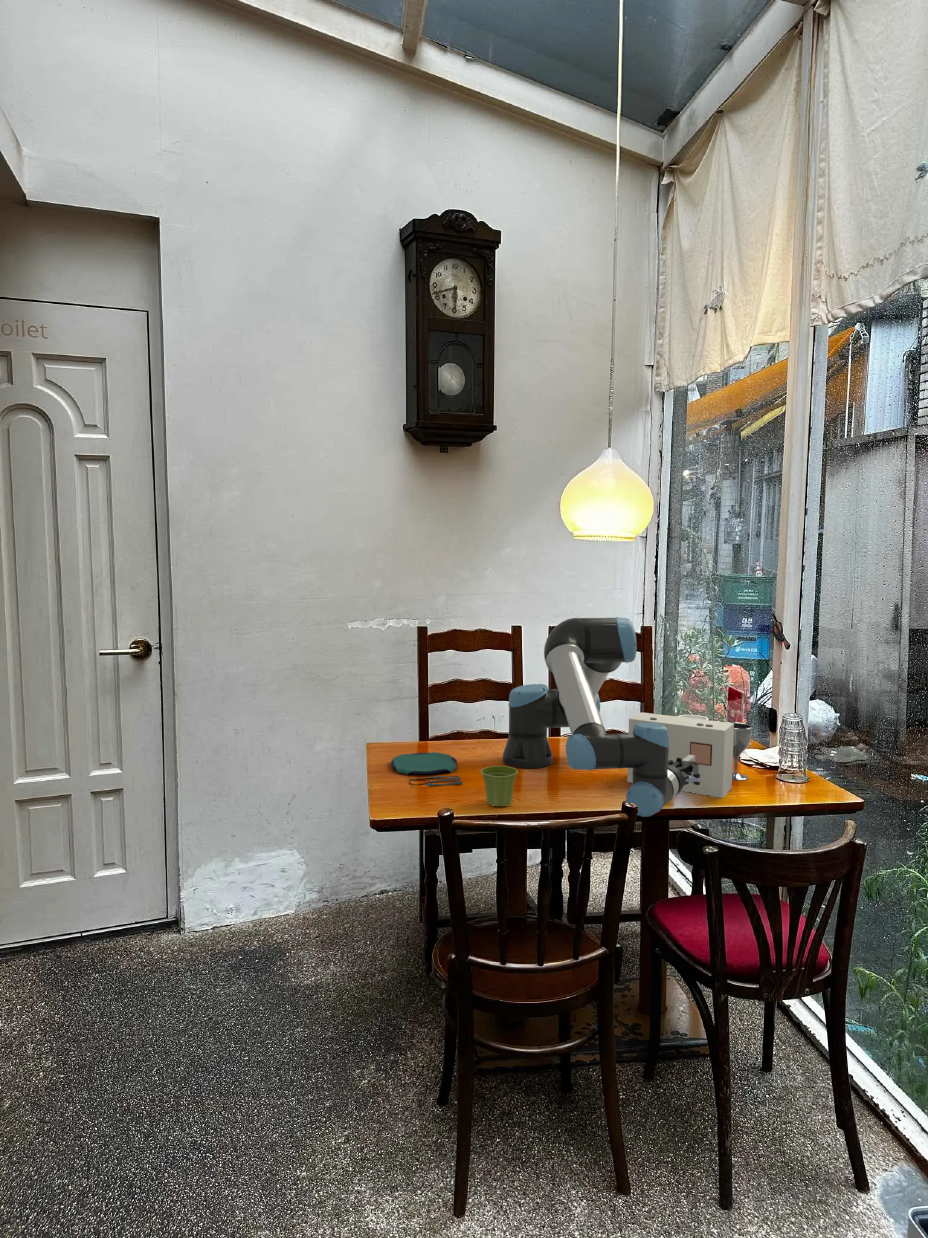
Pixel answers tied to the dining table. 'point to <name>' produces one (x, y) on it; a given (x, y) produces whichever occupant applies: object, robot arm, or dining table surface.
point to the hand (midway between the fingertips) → (692, 760)
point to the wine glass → (740, 745)
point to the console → (680, 738)
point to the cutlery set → (426, 765)
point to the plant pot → (499, 784)
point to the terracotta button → (702, 752)
